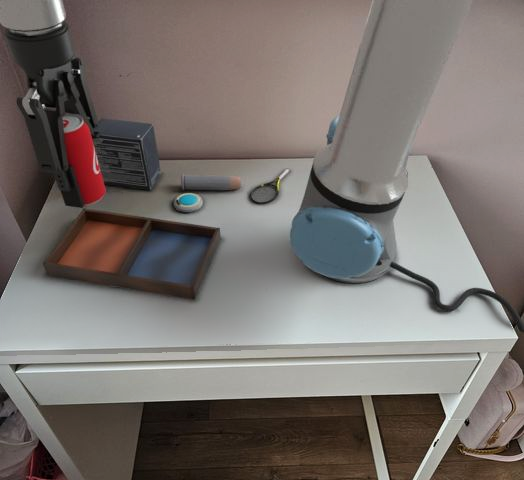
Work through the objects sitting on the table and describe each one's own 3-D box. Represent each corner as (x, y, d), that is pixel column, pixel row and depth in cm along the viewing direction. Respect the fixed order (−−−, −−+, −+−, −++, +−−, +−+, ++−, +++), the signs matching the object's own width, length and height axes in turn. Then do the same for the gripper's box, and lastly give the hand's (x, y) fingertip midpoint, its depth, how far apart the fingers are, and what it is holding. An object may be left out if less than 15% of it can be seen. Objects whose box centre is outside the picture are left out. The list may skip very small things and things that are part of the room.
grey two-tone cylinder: (183, 177, 101) (183, 192, 101) (181, 171, 98) (181, 187, 98) (240, 177, 101) (240, 193, 101) (240, 172, 98) (240, 188, 98)
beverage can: (111, 186, 82) (92, 112, 73) (100, 210, 78) (78, 134, 69) (73, 184, 82) (49, 109, 73) (59, 207, 78) (32, 131, 69)
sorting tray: (220, 239, 91) (220, 227, 89) (195, 300, 81) (193, 288, 79) (86, 219, 94) (83, 208, 92) (47, 275, 85) (42, 264, 83)
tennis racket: (244, 200, 98) (267, 208, 97) (244, 197, 98) (267, 204, 96) (276, 168, 105) (298, 174, 104) (276, 164, 105) (298, 171, 103)
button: (199, 193, 99) (198, 188, 98) (205, 209, 96) (204, 203, 95) (171, 198, 98) (170, 192, 97) (177, 214, 95) (176, 208, 94)
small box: (163, 173, 104) (154, 122, 96) (151, 191, 100) (142, 139, 92) (113, 166, 105) (101, 115, 97) (100, 184, 101) (86, 133, 93)
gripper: (44, -6, 68) (88, 156, 86) (-41, 53, 56) (31, 226, 74) (97, -1, 67) (131, 162, 85) (23, 60, 55) (80, 234, 73)
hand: (84, 192), depth 79 cm, fingers closed on beverage can, 6 cm apart
